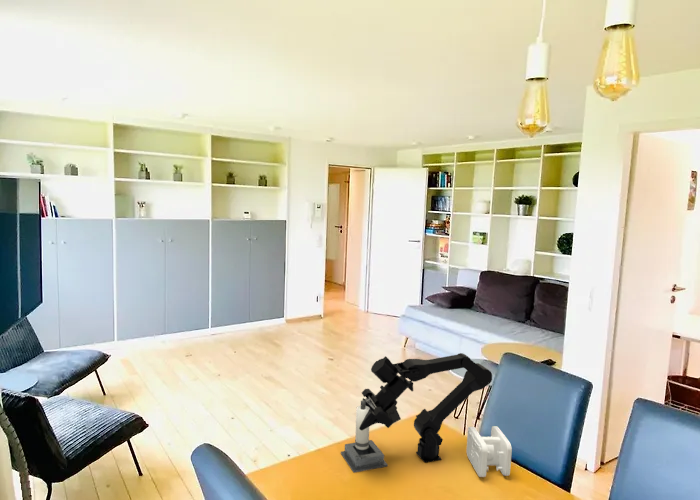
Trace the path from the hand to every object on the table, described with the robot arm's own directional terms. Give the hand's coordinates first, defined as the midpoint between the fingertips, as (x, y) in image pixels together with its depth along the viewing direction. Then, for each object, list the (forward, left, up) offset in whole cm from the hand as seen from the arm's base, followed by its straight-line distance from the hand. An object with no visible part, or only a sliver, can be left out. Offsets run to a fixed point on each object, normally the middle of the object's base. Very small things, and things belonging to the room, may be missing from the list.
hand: (358, 426), depth 151 cm
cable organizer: (-40, +15, -13) cm, 45 cm away
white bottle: (-1, 0, -7) cm, 7 cm away
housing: (-3, -1, -13) cm, 13 cm away
